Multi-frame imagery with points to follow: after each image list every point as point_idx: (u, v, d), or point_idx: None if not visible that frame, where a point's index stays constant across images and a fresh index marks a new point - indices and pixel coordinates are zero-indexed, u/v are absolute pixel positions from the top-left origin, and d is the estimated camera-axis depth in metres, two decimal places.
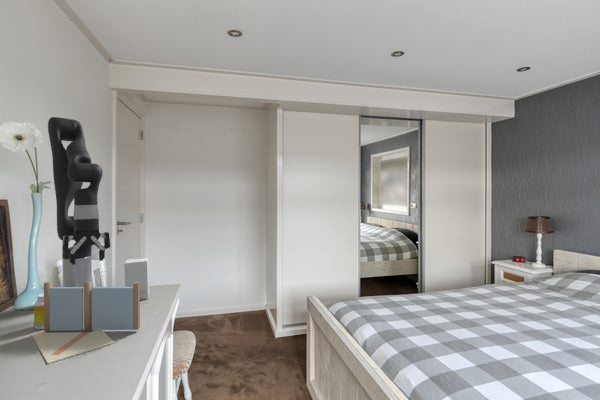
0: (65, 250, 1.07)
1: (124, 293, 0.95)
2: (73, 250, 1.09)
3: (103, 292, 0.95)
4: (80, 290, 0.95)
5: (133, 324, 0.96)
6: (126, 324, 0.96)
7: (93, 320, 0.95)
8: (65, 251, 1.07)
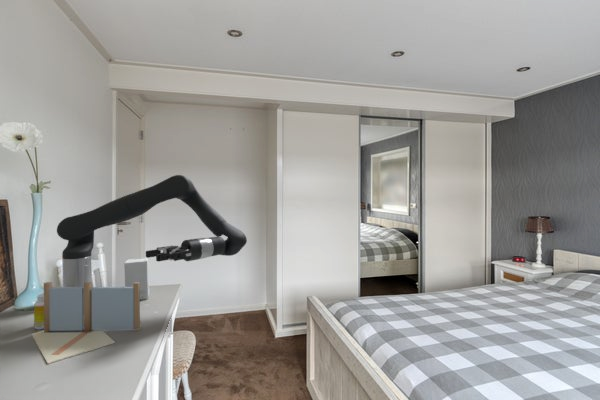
0: None
1: (124, 293, 0.95)
2: None
3: (103, 292, 0.95)
4: (80, 290, 0.95)
5: (133, 324, 0.96)
6: (126, 324, 0.96)
7: (93, 320, 0.95)
8: (175, 260, 1.00)
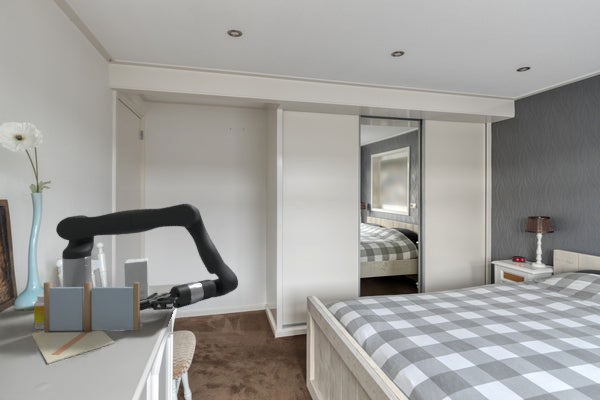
0: None
1: (124, 293, 0.95)
2: None
3: (103, 292, 0.95)
4: (80, 290, 0.95)
5: (133, 324, 0.96)
6: (126, 324, 0.96)
7: (93, 320, 0.95)
8: None
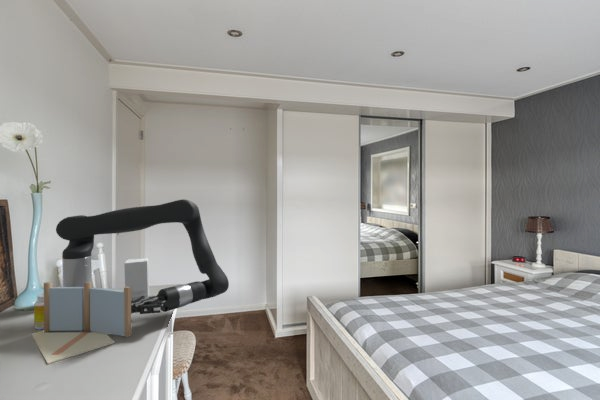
0: None
1: (116, 296, 0.92)
2: None
3: (99, 293, 0.94)
4: (80, 290, 0.95)
5: (124, 330, 0.92)
6: (118, 329, 0.92)
7: (91, 321, 0.94)
8: None
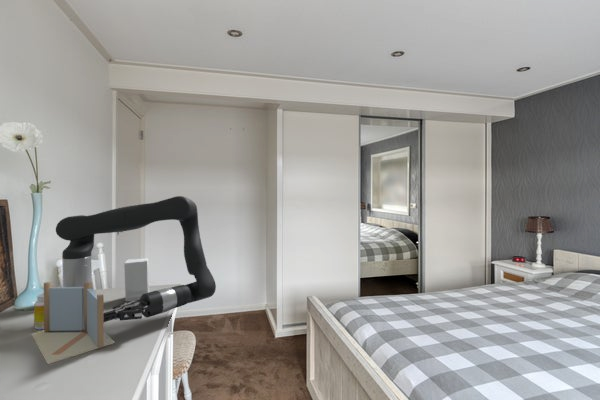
0: None
1: (94, 302, 0.87)
2: None
3: (89, 296, 0.91)
4: (80, 290, 0.95)
5: (97, 340, 0.85)
6: (95, 337, 0.87)
7: (87, 322, 0.94)
8: None
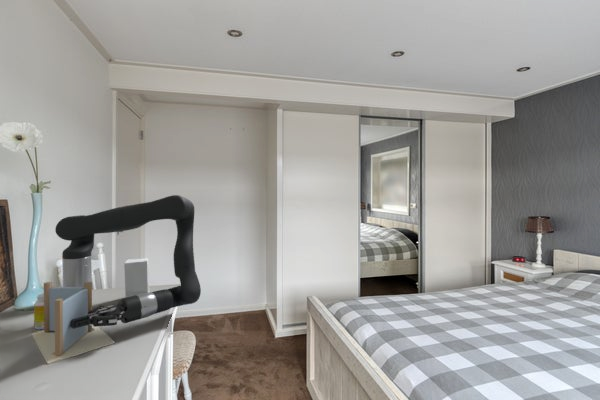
0: None
1: None
2: None
3: None
4: (80, 290, 0.95)
5: None
6: None
7: None
8: None
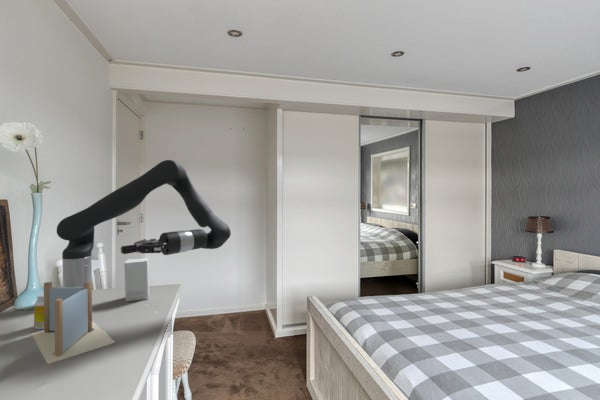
0: None
1: None
2: None
3: None
4: (80, 290, 0.95)
5: None
6: None
7: None
8: (142, 253, 0.96)
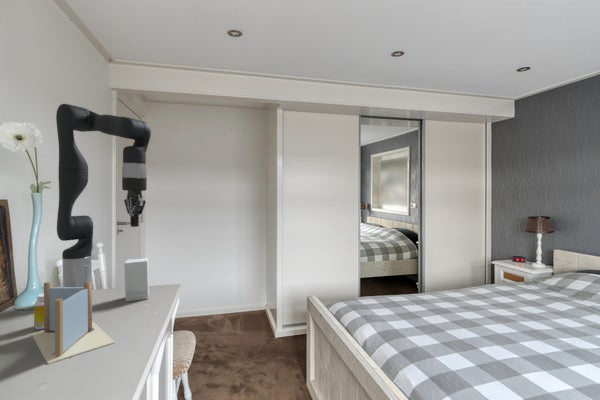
0: None
1: None
2: None
3: None
4: (80, 290, 0.95)
5: None
6: None
7: None
8: None
